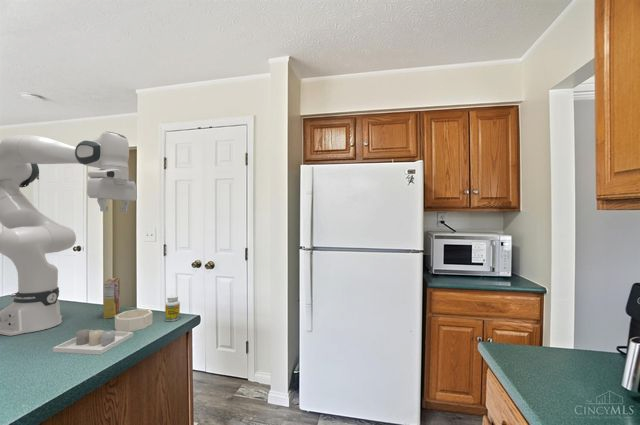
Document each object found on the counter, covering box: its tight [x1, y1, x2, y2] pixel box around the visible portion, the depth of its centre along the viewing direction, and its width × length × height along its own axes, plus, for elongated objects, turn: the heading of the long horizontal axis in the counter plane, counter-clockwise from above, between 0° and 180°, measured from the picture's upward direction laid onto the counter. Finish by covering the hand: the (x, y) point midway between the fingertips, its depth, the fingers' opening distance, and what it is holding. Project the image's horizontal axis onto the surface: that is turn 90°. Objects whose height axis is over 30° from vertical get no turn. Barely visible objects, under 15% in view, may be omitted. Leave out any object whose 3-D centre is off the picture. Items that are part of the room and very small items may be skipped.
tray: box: [52, 329, 134, 356], centre depth 97 cm, size 16×14×2 cm
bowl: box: [114, 308, 153, 332], centre depth 113 cm, size 12×12×5 cm
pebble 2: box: [89, 329, 104, 346], centre depth 97 cm, size 4×4×4 cm
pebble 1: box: [75, 328, 91, 345], centre depth 97 cm, size 4×4×4 cm
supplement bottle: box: [164, 294, 181, 322], centre depth 122 cm, size 5×5×10 cm
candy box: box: [103, 277, 121, 320], centre depth 126 cm, size 9×4×15 cm, turn 23°
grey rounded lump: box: [102, 329, 116, 347], centre depth 97 cm, size 4×4×4 cm
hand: (114, 211), depth 110 cm, fingers open, 8 cm apart
